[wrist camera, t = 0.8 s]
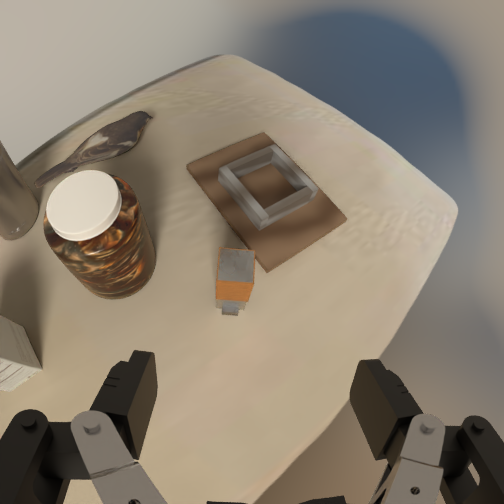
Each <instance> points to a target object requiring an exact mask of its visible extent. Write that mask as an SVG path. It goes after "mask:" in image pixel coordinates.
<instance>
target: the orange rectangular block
mask: <svg viewBox="0 0 504 504" xmlns="http://www.w3.org/2000/svg"><path fill="white" fill-rule="evenodd" d="M254 269H255V250H245V249H233V248H221V247H219V257H218V268H217V280H216V299H217V306H216V308H222V314H223V315H237V316H238V310H244V309H245V306H246V303H247V302H248V300H249V297H250V294H251V291H252V288H253V285H254Z"/></svg>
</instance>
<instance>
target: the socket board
mask: <svg viewBox="0 0 504 504" xmlns="http://www.w3.org/2000/svg"><path fill="white" fill-rule="evenodd" d="M187 170H188V171H189V173H190V174H191V175H192V177H193V178H194V179H195V180H196V182H197V183H198V184H199V186H200V187H201V188H202V190H203V191H204V192H205V193H206V195H207V196H208V197H209V199H210V200H211V201H212V202H213V204H214V205H215V206H216V208H217V209H218V210H219V212H220V213H221V214H222V215H223V217H224V218H225V219H226V221H227V222H228V223H229V225H230V226H231V227H232V228H233V230H234V231H235V232H236V234H237V235H238V236H239V238H240V239H241V240H242V241H243V243H244V244H245V245H246V247H247V248H248V249H249V250H255V258H256V260H257V261H258V262H259V263H260V265H261V266H262V267H263V269H264V270H265V271H266V273H268V272H270V271H271V270H273V269H274V268H276V267H277V266H279V265H281V264H282V263H284V262H285V261H287V260H288V259H290V258H291V257H293V256H294V255H296V254H297V253H299V252H301V251H302V250H304V249H305V248H307V247H308V246H310V245H311V244H313V243H314V242H316V241H317V240H319V239H320V238H322V237H323V236H325V235H326V234H328V233H329V232H331V231H332V230H334V229H335V228H337V227H338V226H340V225H341V224H343V223H344V222H346V220H347V218H346V217H345V215H344V214H343V213H342V212H341V211H340V210H339V209H338V208H337V207H336V205H335V204H334V203H333V202H332V201H331V200H330V199H329V198H328V197H327V196H326V195H325V194H324V192H323V191H322V190H321V189H320V188H319V187H318V186H317V185H316V184H315V183H314V182H313V181H312V180H311V179H310V178H309V177H308V176H307V175H306V173H305V172H304V171H303V170H302V169H301V168H300V167H299V166H298V165H297V164H296V163H295V162H294V161H293V160H292V159H291V158H290V157H289V156H288V155H287V154H286V153H285V152H284V151H283V150H282V149H281V148H280V147H279V146H278V145H277V144H276V143H275V142H274V141H273V140H272V139H271V138H270V137H269V136H267V135H266V134H265V133H261V134H259V135H256V136H254V137H251V138H249V139H246V140H244V141H241V142H239V143H236V144H234V145H231V146H229V147H227V148H224V149H222V150H219V151H217V152H215V153H212V154H210V155H208V156H206V157H203V158H201V159H199V160H197V161H194V162H192V163H190V164H188V165H187Z"/></svg>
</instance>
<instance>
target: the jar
mask: <svg viewBox="0 0 504 504" xmlns="http://www.w3.org/2000/svg"><path fill="white" fill-rule="evenodd" d="M44 234H45V237H46V240H47V242H48V244H49V246H50V247H51V249H52V250H53V252H54V253H55V254H56V255H57V257H58V258H59V259H60V260H61V261H62V263H63V264H64V265H65V266H66V267H67V268H68V269H69V271H70V272H71V273H72V274H73V275H74V276H75V277H76V278H77V279H78V280H79V281H80V282H81V283H82V284H83V285H84V286H85V287H86V288H87V289H88V290H89V291H90V292H92V293H93V294H95V295H97V296H99V297H102V298H105V299H122V298H126V297H128V296H131V295H133V294H135V293H136V292H138V291H139V290H141V289H142V288H143V287H144V286H145V285H146V284H147V282H148V281H149V280H150V278H151V276H152V274H153V272H154V269H155V263H156V254H155V250H154V246H153V243H152V240H151V237H150V234H149V231H148V227H147V224H146V221H145V218H144V215H143V213H142V210H141V207H140V204H139V202H138V199H137V197H136V195H135V193H134V191H133V190H132V188H131V187H130V186H129V185H128V184H127V183H126V182H125V181H123V180H122V179H120V178H118V177H116V176H113V175H110V174H107V173H105V172H102V171H97V170H85V171H81V172H77V173H75V174H72V175H70V176H69V177H67V178H65V179H64V180H63V181H61V182H60V183H59V184H58V185H57V186H56V188H55V189H54V190H53V192H52V193H51V195H50V197H49V199H48V202H47V207H46V212H45V216H44Z"/></svg>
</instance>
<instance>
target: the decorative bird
mask: <svg viewBox="0 0 504 504" xmlns="http://www.w3.org/2000/svg"><path fill="white" fill-rule="evenodd" d="M151 118H153V117H151V116H149V115H148V114H147V113H146V112H143V111H138V112H135V113H132V114H130V115H129V116H127V117H125V118H123V119H121V120H119V121H116V122H114V123H111V124H109V125H107V126H105V127H103V128H101V129H100V130H98V131H97V132H96V133H94V134H93V135H91V136H90V137H89V138H87V139H86V140H85V141H84V142H83V143H82V144H81V145H80V146H79V147H78V148H77V149H76V150H75V151H74V153H73V154H72V155H71V156H69V157H68V158H67V159H66V160H65V161H64V162H62V163H60V164H58V165H56V166H55V167H53V168H51V169H50V170H48V171H47V172H45V173H44V174H43V175H41V176H40V177H39V178H38V179H37V180H36V181H35V183H34V184H36V187H38V188H40V187H42V186H43V185H45V184H46V183H48V182H49V181H51V180H52V179H54V178H56V177H57V176H59V175H60V174H62V173H67V172H71V171H74V170H75V169H77V167H78V166H80V165H84V164H92V163H94V162H98V161H102V160H106V159H109V158H112V157H115V156H117V155H120V154H122V153H124V152H126V151H128V150H129V149H131V148H132V147H133V146H134V145H135V144H136V143H137V141H138V138H139V136H140V133H141V131H142V130H143V128H144V126H145V124H146V123H147V122H148V120H149V119H151Z"/></svg>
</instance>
